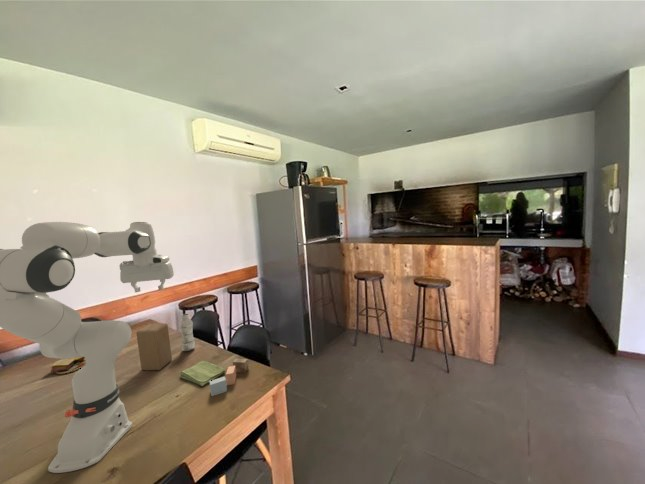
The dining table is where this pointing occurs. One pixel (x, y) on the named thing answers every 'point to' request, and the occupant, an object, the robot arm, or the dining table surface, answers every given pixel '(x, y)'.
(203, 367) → the washcloth
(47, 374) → the dining table surface
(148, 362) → the block
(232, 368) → the brick terracotta
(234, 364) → the brick walnut
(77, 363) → the toy sandwich meal
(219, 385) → the brick slate
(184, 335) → the plastic bottle
